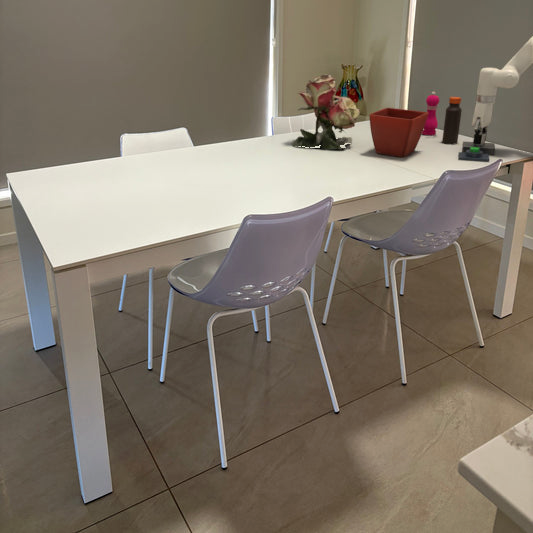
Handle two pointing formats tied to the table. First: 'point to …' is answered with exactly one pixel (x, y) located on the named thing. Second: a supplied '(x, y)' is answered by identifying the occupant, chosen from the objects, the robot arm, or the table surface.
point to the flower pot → (396, 130)
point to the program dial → (482, 140)
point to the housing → (473, 156)
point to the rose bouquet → (327, 114)
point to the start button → (474, 149)
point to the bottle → (452, 121)
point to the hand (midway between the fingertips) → (479, 142)
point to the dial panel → (480, 147)
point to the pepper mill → (431, 115)
